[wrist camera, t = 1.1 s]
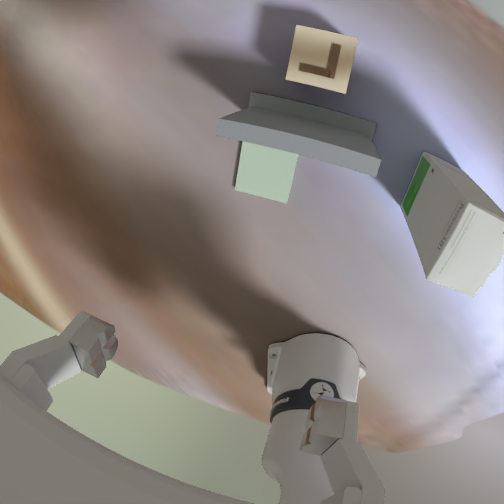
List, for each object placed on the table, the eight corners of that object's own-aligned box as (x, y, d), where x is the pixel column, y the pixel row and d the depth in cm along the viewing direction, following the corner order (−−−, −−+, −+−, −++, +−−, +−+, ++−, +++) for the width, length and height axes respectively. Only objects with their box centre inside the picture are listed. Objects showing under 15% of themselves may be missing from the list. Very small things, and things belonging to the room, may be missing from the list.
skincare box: (422, 149, 32) (468, 195, 20) (465, 170, 32) (522, 226, 19) (398, 208, 37) (422, 280, 24) (439, 226, 36) (476, 301, 24)
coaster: (287, 201, 41) (286, 203, 40) (236, 188, 42) (234, 189, 41) (299, 151, 37) (299, 152, 36) (244, 137, 38) (243, 138, 37)
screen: (365, 161, 35) (375, 196, 25) (245, 130, 37) (208, 153, 27) (376, 123, 32) (392, 142, 23) (252, 91, 34) (216, 98, 24)
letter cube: (344, 92, 32) (345, 94, 27) (293, 79, 32) (285, 79, 27) (354, 45, 28) (357, 38, 23) (302, 33, 29) (296, 24, 24)
